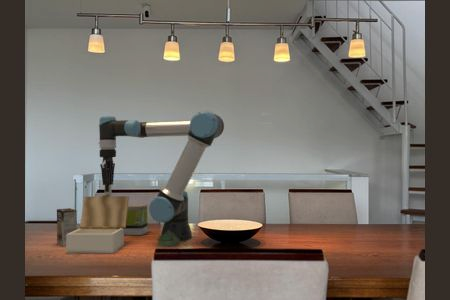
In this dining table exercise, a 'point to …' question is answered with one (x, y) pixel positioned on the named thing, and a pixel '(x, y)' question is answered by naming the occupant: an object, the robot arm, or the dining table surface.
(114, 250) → the chest
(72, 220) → the coffee box
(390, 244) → the dining table surface
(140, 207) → the tea box
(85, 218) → the lid
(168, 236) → the decorative artifact
